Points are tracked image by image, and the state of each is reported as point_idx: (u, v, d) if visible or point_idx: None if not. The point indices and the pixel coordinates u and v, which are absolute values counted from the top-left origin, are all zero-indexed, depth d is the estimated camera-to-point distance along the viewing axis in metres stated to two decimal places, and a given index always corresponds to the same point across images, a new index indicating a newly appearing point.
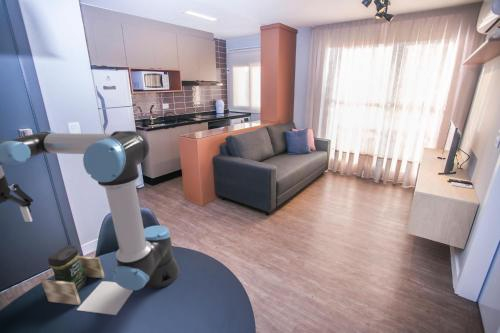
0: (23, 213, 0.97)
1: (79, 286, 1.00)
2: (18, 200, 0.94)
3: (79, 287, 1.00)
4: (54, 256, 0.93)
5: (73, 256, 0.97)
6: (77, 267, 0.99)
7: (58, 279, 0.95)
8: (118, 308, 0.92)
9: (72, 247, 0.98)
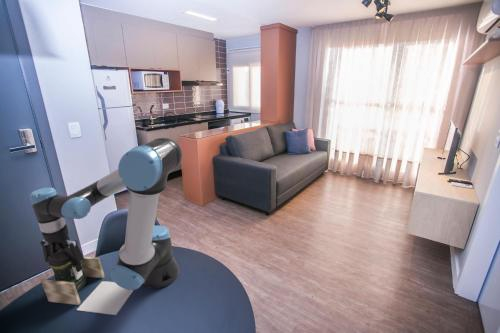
0: None
1: (79, 286, 1.00)
2: (68, 256, 0.95)
3: (79, 287, 1.00)
4: (54, 256, 0.93)
5: None
6: None
7: (57, 279, 0.95)
8: (118, 308, 0.92)
9: None
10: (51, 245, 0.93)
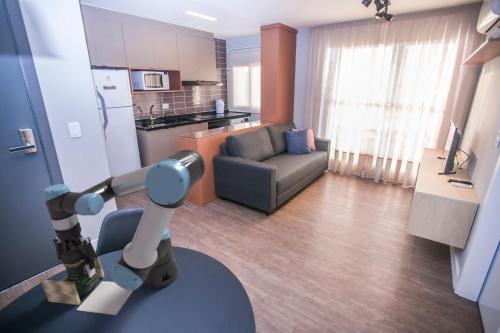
0: None
1: (92, 284, 0.99)
2: None
3: (92, 285, 0.99)
4: (67, 253, 0.92)
5: None
6: None
7: (71, 277, 0.94)
8: (118, 308, 0.92)
9: None
10: (64, 243, 0.91)
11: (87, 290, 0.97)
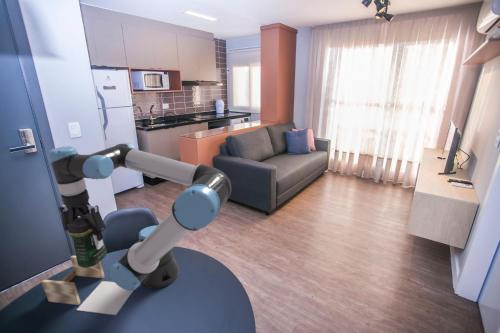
0: None
1: (100, 257, 0.93)
2: (89, 223, 0.87)
3: (100, 258, 0.93)
4: (74, 222, 0.86)
5: None
6: None
7: (77, 248, 0.88)
8: (118, 308, 0.92)
9: None
10: (71, 210, 0.86)
11: (94, 263, 0.91)
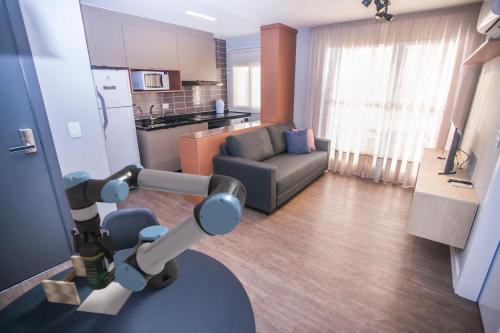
0: None
1: (110, 279, 0.93)
2: None
3: (111, 280, 0.93)
4: (86, 246, 0.86)
5: None
6: None
7: (89, 271, 0.88)
8: (118, 308, 0.92)
9: None
10: (83, 234, 0.86)
11: (105, 285, 0.91)
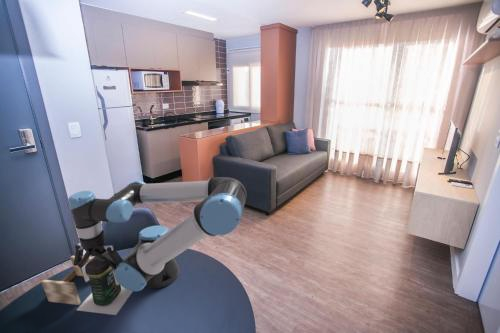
0: None
1: (115, 294, 0.95)
2: (107, 262, 0.89)
3: (115, 295, 0.96)
4: (92, 264, 0.89)
5: None
6: (113, 275, 0.94)
7: (94, 288, 0.91)
8: (118, 308, 0.92)
9: None
10: (88, 251, 0.88)
11: (110, 301, 0.93)
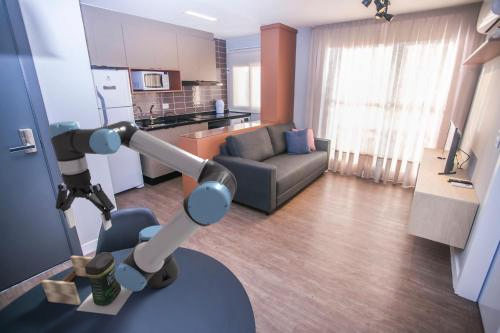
0: None
1: (115, 294, 0.95)
2: (94, 203, 0.81)
3: (115, 295, 0.96)
4: (92, 264, 0.89)
5: (110, 264, 0.92)
6: (113, 275, 0.94)
7: (94, 288, 0.91)
8: (118, 308, 0.92)
9: (108, 254, 0.94)
10: (71, 191, 0.80)
11: (110, 301, 0.93)
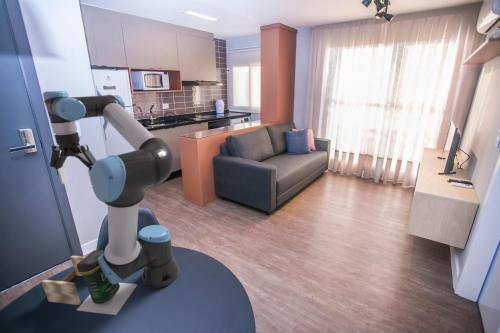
0: None
1: (113, 291, 0.95)
2: (82, 161, 0.97)
3: (113, 292, 0.95)
4: (82, 261, 0.89)
5: None
6: None
7: (89, 286, 0.91)
8: (118, 308, 0.92)
9: (99, 251, 0.94)
10: (63, 150, 0.96)
11: (108, 298, 0.93)
